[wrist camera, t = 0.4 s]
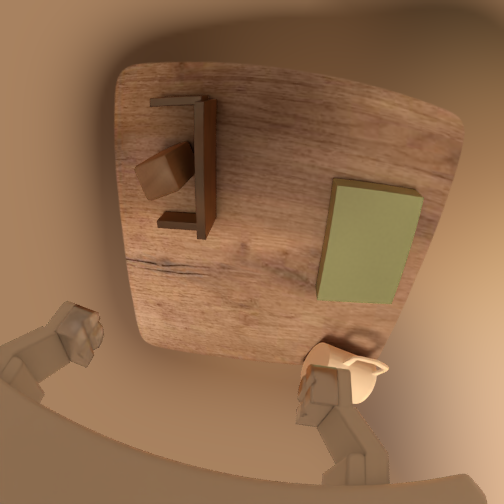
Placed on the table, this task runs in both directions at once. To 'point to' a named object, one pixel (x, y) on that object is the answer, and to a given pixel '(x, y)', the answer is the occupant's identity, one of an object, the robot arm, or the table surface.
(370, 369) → the cup
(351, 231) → the board
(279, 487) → the robot arm
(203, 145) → the frame
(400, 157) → the table surface
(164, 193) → the wooden block
